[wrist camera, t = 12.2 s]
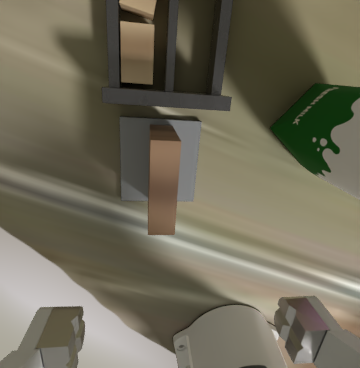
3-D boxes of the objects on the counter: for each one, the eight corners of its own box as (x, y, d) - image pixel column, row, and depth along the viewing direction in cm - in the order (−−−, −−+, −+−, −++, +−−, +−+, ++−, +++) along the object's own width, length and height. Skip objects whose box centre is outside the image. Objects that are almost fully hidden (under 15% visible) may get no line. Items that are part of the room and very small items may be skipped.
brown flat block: (168, 198, 31) (174, 234, 23) (148, 198, 30) (148, 234, 23) (172, 125, 27) (181, 141, 20) (149, 124, 27) (150, 139, 20)
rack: (213, 105, 28) (229, 111, 22) (112, 98, 26) (102, 102, 20) (233, -61, 22) (261, -108, 17) (106, -82, 21) (91, -142, 15)
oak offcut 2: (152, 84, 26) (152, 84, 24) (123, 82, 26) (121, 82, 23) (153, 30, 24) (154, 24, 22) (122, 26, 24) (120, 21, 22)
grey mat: (192, 199, 32) (193, 201, 31) (121, 198, 31) (121, 200, 30) (200, 121, 28) (201, 121, 27) (120, 116, 27) (119, 116, 26)
